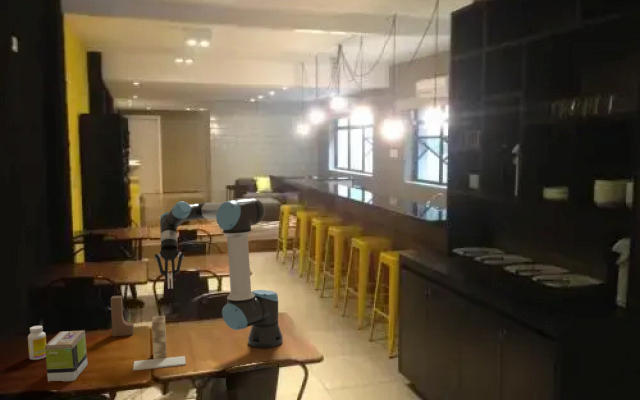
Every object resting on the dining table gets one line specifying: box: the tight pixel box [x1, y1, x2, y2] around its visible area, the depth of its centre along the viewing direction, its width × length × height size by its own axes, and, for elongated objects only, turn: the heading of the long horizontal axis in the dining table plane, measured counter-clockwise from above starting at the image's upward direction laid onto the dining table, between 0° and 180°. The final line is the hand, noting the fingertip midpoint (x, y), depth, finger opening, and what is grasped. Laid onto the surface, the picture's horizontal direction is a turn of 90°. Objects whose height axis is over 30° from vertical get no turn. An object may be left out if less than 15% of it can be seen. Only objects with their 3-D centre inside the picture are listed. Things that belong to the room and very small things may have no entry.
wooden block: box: [110, 295, 135, 337], centre depth 253 cm, size 9×4×18 cm, turn 102°
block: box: [151, 315, 167, 359], centre depth 227 cm, size 5×8×16 cm, turn 15°
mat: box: [132, 355, 187, 371], centre depth 220 cm, size 20×8×1 cm, turn 105°
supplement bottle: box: [27, 325, 47, 361], centre depth 227 cm, size 7×7×13 cm
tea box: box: [45, 329, 89, 383], centre depth 211 cm, size 15×10×15 cm, turn 5°
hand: (170, 287), depth 238 cm, fingers closed
